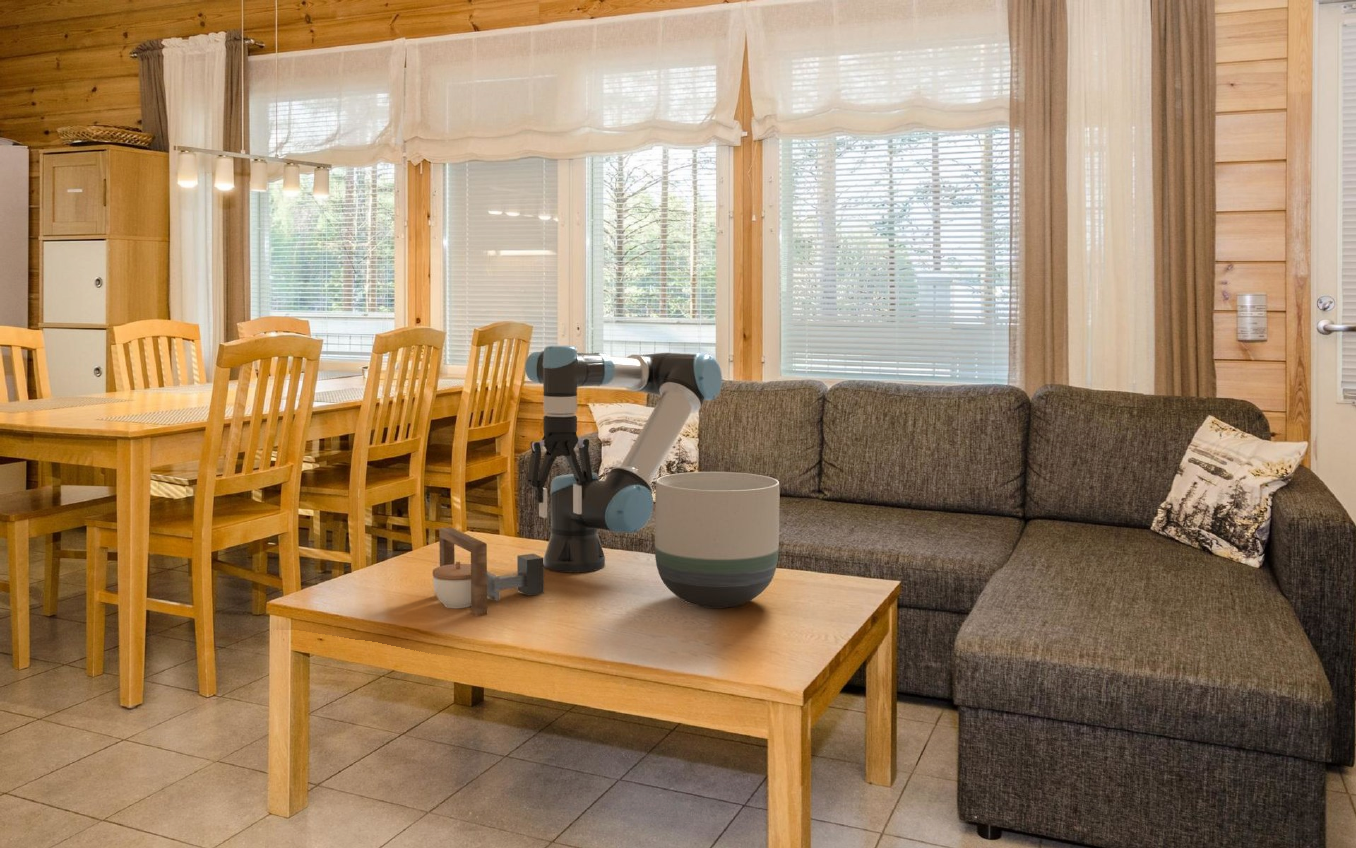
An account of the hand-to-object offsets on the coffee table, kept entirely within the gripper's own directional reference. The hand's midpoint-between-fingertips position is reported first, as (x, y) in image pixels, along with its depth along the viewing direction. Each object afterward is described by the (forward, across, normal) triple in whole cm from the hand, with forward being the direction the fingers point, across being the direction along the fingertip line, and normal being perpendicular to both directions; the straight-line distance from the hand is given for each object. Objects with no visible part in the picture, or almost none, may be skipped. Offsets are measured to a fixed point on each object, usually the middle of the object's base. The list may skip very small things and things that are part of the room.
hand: (560, 515), depth 245 cm
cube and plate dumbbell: (+17, +12, 0) cm, 20 cm away
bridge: (+17, +24, 0) cm, 29 cm away
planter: (+17, -24, +28) cm, 40 cm away
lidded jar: (+17, +24, 0) cm, 30 cm away
